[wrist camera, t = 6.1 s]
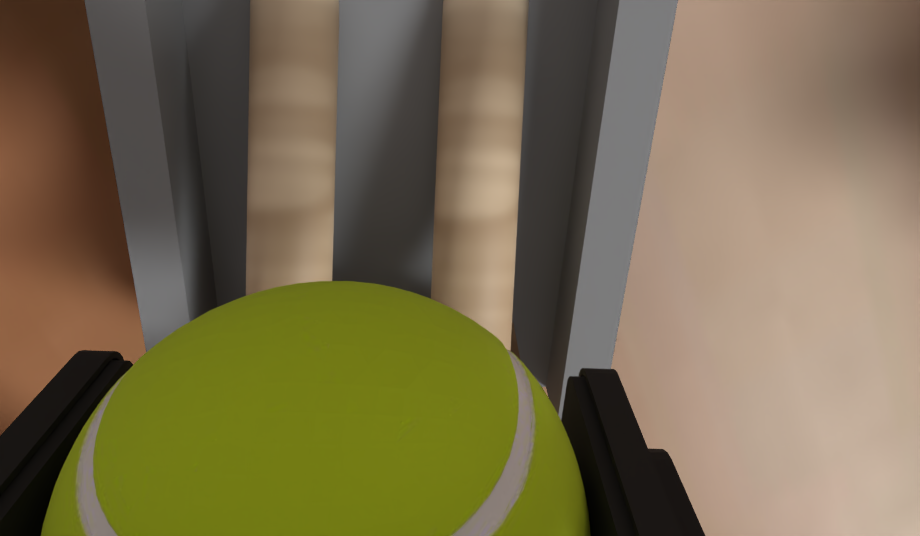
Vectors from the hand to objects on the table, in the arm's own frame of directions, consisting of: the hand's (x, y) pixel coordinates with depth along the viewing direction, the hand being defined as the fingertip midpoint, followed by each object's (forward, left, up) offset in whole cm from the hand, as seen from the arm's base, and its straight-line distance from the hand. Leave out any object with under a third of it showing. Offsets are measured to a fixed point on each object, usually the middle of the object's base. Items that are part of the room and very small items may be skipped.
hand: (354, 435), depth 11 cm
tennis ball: (0, 0, -2) cm, 2 cm away
